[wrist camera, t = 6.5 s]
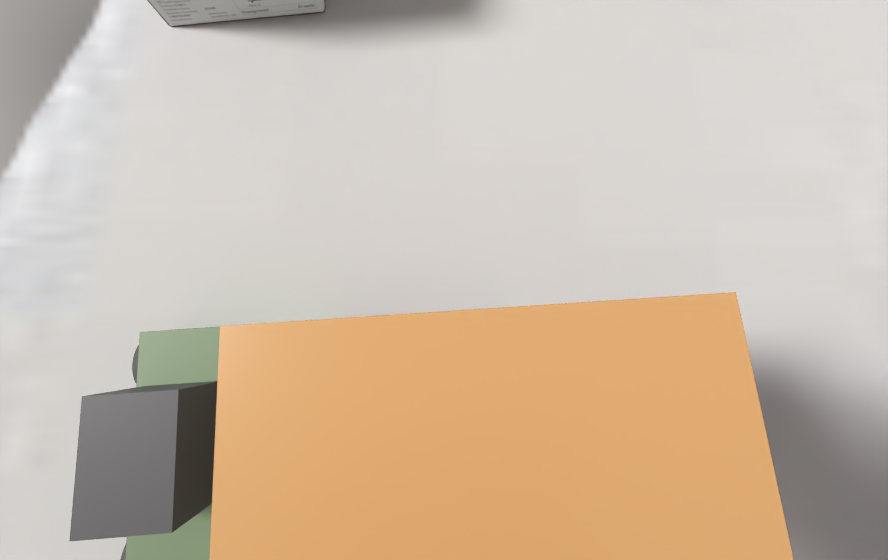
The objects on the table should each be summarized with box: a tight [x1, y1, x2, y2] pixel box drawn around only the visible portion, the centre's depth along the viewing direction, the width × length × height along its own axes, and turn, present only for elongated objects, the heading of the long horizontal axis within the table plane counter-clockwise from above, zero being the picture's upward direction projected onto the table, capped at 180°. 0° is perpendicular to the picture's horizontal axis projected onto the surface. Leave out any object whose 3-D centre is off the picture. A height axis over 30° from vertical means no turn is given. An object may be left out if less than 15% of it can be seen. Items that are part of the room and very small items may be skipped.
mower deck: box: [70, 327, 220, 560], centre depth 17 cm, size 12×10×7 cm
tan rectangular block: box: [209, 292, 794, 560], centre depth 9 cm, size 6×5×12 cm
